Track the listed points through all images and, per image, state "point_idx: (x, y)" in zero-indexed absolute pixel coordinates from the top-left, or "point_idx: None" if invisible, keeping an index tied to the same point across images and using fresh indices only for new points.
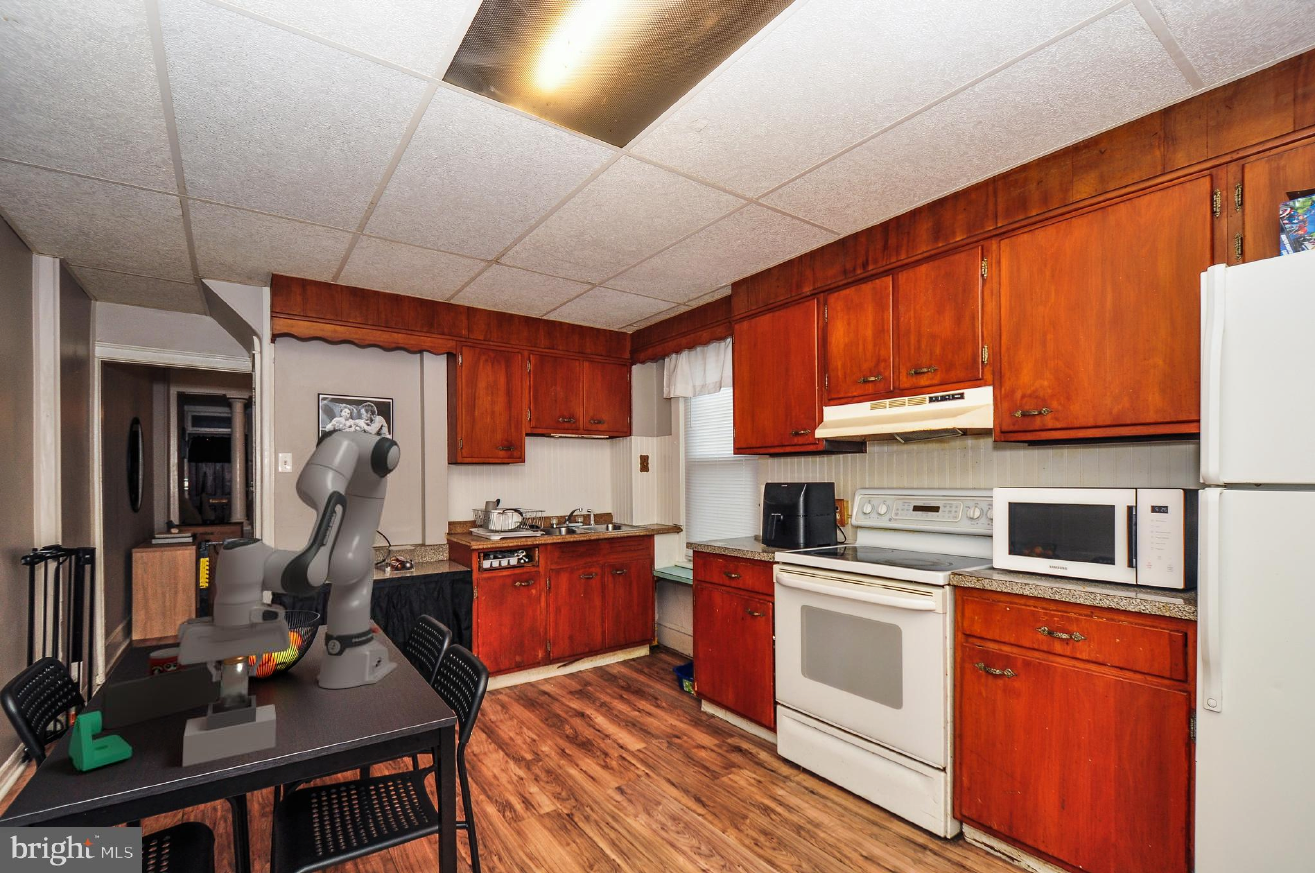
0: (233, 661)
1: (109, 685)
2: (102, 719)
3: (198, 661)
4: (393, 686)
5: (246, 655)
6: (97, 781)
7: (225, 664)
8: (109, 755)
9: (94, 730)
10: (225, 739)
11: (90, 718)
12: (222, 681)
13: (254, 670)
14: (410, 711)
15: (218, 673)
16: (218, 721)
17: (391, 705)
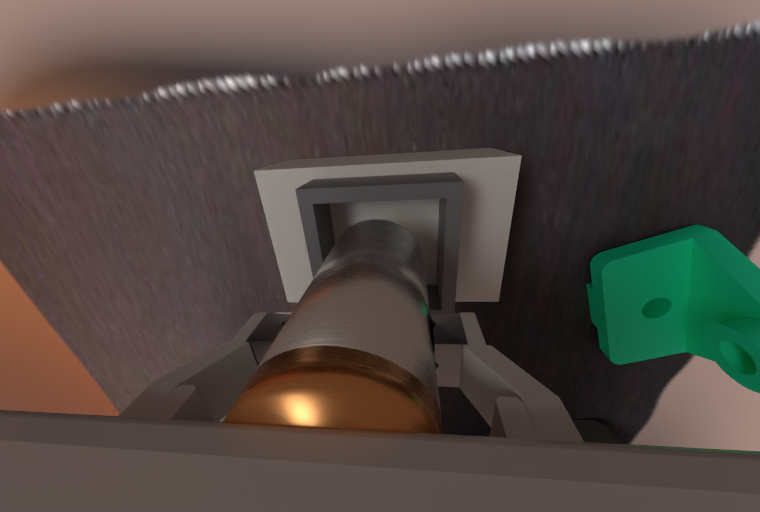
0: (336, 371)
1: None
2: (617, 441)
3: (730, 461)
4: (124, 369)
5: (215, 428)
6: (670, 163)
7: (410, 374)
8: (655, 249)
9: (744, 320)
10: (397, 158)
11: None
12: (421, 297)
13: (250, 328)
14: (25, 220)
15: (450, 342)
16: (421, 177)
17: (88, 278)
